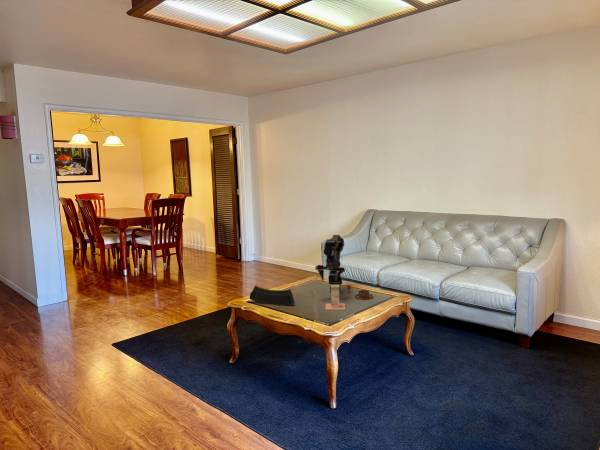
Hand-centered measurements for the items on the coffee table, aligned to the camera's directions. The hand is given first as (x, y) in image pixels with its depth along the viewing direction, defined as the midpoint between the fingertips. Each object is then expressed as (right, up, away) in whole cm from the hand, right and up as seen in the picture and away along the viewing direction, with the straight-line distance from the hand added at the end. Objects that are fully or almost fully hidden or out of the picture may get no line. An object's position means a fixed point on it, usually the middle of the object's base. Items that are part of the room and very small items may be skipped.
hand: (329, 281), depth 268 cm
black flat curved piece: (-37, -14, -3) cm, 40 cm away
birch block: (+3, -13, -13) cm, 19 cm away
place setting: (+23, -12, +10) cm, 28 cm away
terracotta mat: (+3, -14, -13) cm, 19 cm away
